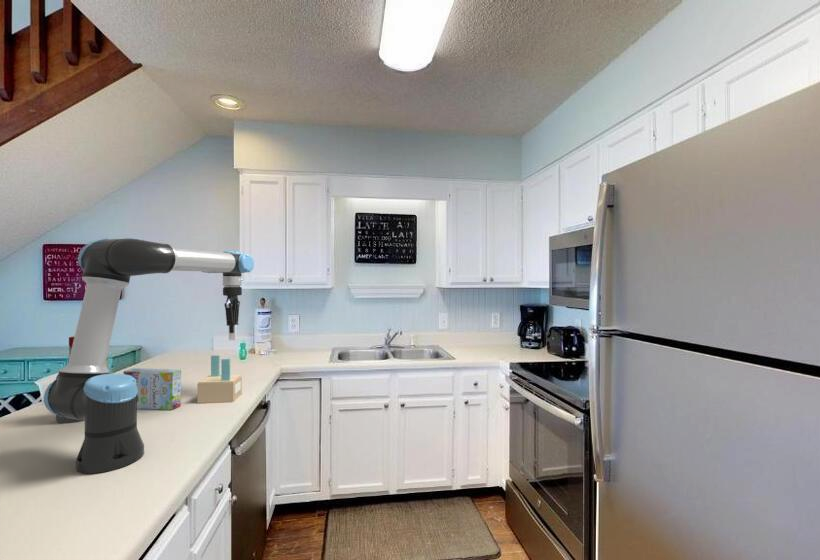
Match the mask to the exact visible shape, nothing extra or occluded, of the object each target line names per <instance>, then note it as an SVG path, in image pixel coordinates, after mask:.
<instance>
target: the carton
mask: <svg viewBox="0 0 820 560" xmlns="http://www.w3.org/2000/svg"><path fill="white" fill-rule="evenodd" d="M242 376H243V375H241V377H240V378H238V379H237V380H236V381H235V382H233V383H204V384H198V383H197V404H218V403H219V404H220V403H222V404H223V403H234V402H235V401H236V400H237V399H238V398H239V397H241V396H242V394H243V393H242V390H243V389H242V388H243V386H242V385H243V384H242V383H243V382H242V380H243V377H242Z"/></svg>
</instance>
